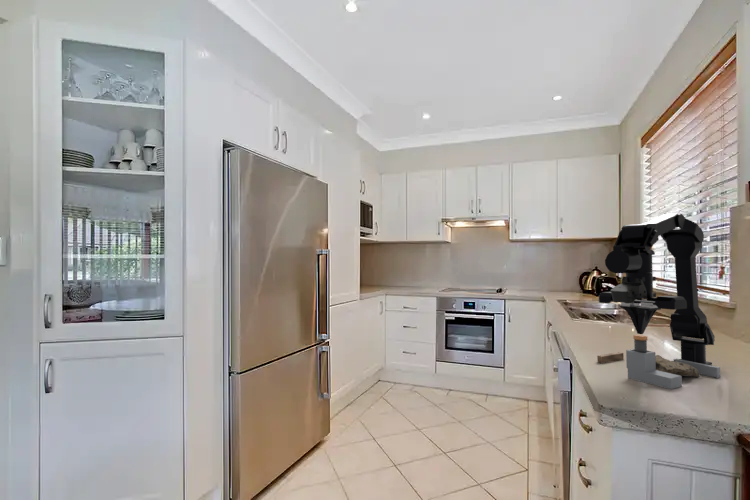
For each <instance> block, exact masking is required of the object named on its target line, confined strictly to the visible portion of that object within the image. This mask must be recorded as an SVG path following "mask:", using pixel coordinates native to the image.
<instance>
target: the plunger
mask: <svg viewBox="0 0 750 500" xmlns="http://www.w3.org/2000/svg"><path fill="white" fill-rule="evenodd" d="M632 339H633V341H634V343H633V344H634V346H633V347H634V348H633V349H635V352H640V353H647V350H648V348H647V347H648V346H647V343H648V342H647V341H648V339H649V338H648V336H647V335H643V334H633V337H632Z"/></svg>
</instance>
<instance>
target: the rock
mask: <svg viewBox="0 0 750 500" xmlns="http://www.w3.org/2000/svg"><path fill="white" fill-rule="evenodd" d="M655 357H656V370H658V371H662V372H667V373H671V374H675V375H680V376H682V377H692V378H693V377H694V378H699V377H700V376H701V374H699V371H698V370H697V369H695V368H694V367H691V366H690V365H688V364H684V363H681V362H677V361H674V360H670V359H666V358H665V357H663V356H661V355H659V354H655Z"/></svg>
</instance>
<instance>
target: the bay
mask: <svg viewBox="0 0 750 500" xmlns="http://www.w3.org/2000/svg"><path fill="white" fill-rule="evenodd" d="M625 353H626V355H625V356H626V357H625V359H626V363H625V364H626V368H627V378H628V379H632V380H635V381H639V382H643V383H646V384H650V385H653V386H657V387H661V388H666V389H669V390H673V389H677V388H682V387H683V376H680V375H675V374H671V373H667V372H662V371H658V370H656V357H655V355H656V351H652V350H648V349H647V353H640V352H635V349H634V348H631V349H626V352H625ZM673 361H677V362H681V363H684V364H688V365H690V366H691V367H694V368H695V369H697V370H698V371H699V374H700V375H703V376H708V377H711V378H717V379H718V378H721V367H720V366H717V365H716V366H715V365H712V364H710V365H706V364H701V363H696V362H691V361H686V360H681V358H674V359H673Z"/></svg>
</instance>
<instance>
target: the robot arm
mask: <svg viewBox="0 0 750 500" xmlns="http://www.w3.org/2000/svg"><path fill="white" fill-rule="evenodd" d="M617 235H618V236H617V238H616V240H615V243H614V245H613V246H612V250H611V251H610V252H609V253H608V254H607V255H606V257H605V260H604V263H605V267H606V269H607V270H608V271H610V272H611V273H613V274H625V276H622V278H621V283H620V284H617V285H615V286H613V288H611V289H610V291H602V292H600V293H599V295H598V303H601V304H610V303H612V302H613V303H620V305H619V308H620V309H623V310H624V311H625V312H627V314H628V315H629V318H630V320H631V322H632V323H633V326H634V329H635V331H636V334H637V335H643V334H645V333H644V332H645V331H646V329H647V327H648V326H649V323H650V321H651V320H652V318H653V316H654V315H655V313H657V311H660V310H661V309H663V310H670V311H671V310H674V312H673V313H671V315H670V323H669V329H670V333H671V339H672V340H673V341H679V342H680V359H681V360H686V361H691V362H696V363H701V364H706V365H713V362H711V361H708V360H707V351H706V349H707V348H706V347H707V346H714V345H715V334H714V333H713V330H712V329H711V327H710V324H709V323H708V320H707V319H708V318H707V315H706V314H705V313H704V312H703V311H702V309H701V308H700V307H699V291H698V279H697V278H698V277H697V260H696V257H697V255H698V254H699V253H700V251H701V249H702V248H703V242H704V239H705V235H704V231H703V230H702V228H701V227H700V226H699V224H698V223H697V222H695V221H692V220H691V219H688V218H686V217H685V216H684V214H683V213H679V212H675V213H666V214H665V213H664V214H662V215H660V216H658V217H656V218H653V219H651V220H649V221H646V222H644V223H636V224H624V225H623V226H622V227H621V229H620V231H619V232H618V234H617ZM659 236H660V237H661V239H662V240H663V242H665V243H666V249H667V250H668V252H669V253H670V254H671V256H672V257H673V258H674V266H675V267H674V268H675V282H676V283H675V284H676V285H675V286H676V295H661V296H660V295H658V296H657V292H654V289H653V288H654V285H653V283H654V281H655V282H656V281H657V277H656V276H653V275H654V274H653V256H654V255H655V253H656V252H655V251H654V249H652V247H653V246H654V245H655V244H656V243H657V242H658V241H659V240H660V239H659ZM639 304H640V305H639Z"/></svg>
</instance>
